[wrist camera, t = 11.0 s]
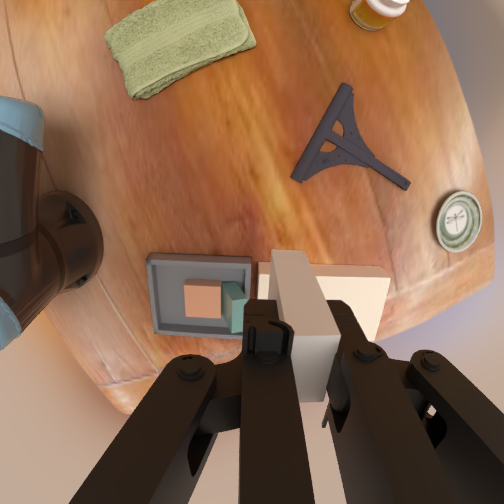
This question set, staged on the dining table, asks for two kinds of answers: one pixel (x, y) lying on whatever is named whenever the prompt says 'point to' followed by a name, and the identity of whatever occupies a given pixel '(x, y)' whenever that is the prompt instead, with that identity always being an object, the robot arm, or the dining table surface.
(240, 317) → the green glazed tile
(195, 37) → the washcloth
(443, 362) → the robot arm
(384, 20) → the supplement bottle
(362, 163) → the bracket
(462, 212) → the saucer
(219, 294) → the terracotta tile
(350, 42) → the dining table surface
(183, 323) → the tray
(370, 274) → the cream board
